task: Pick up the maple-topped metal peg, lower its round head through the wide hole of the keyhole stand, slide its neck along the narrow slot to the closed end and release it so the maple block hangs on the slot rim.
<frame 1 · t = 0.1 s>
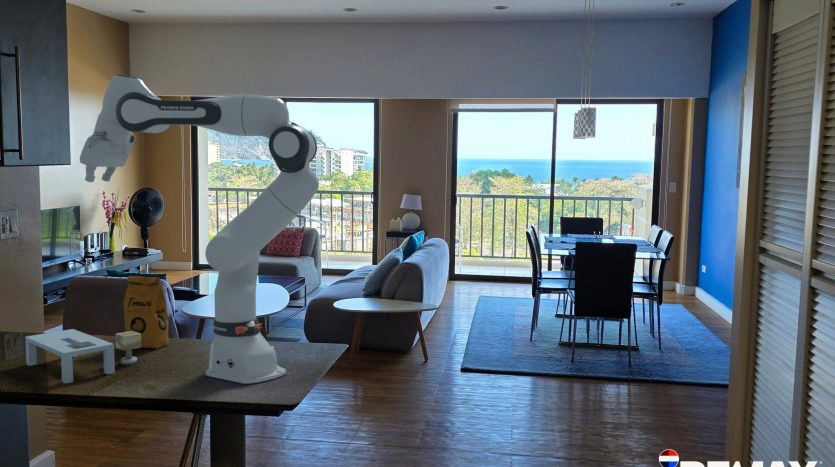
hand: (97, 181, 191), 52 cm above the breakfast bar, tool tilted 20°, fingers open, 8 cm apart
coffee package: (147, 346, 220), on the breakfast bar
peg: (129, 362, 201), on the breakfast bar
keyhole stand: (69, 368, 194), on the breakfast bar
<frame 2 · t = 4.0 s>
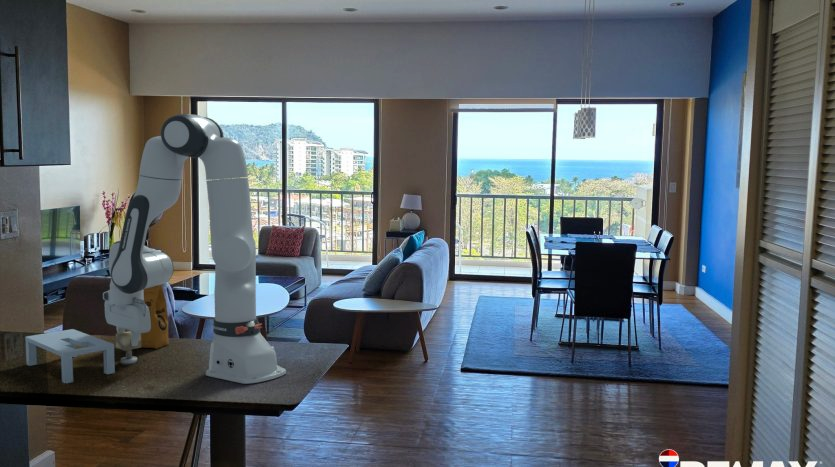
hand: (128, 343, 200), 6 cm above the breakfast bar, tool pointing down, fingers closed on peg, 5 cm apart
peg: (129, 362, 201), on the breakfast bar, touching gripper
everything else where it was.
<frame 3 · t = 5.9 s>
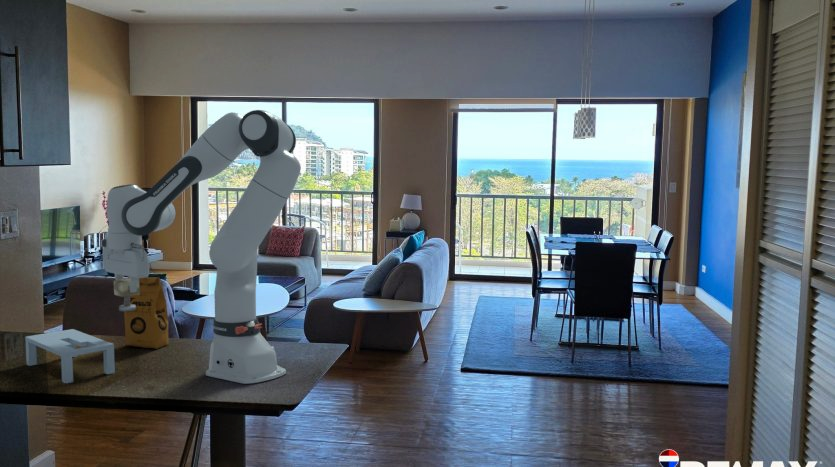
hand: (127, 290, 199), 21 cm above the breakfast bar, tool pointing down, fingers closed on peg, 5 cm apart
peg: (127, 309, 199), point 15 cm above the breakfast bar, touching gripper
everything else where it was.
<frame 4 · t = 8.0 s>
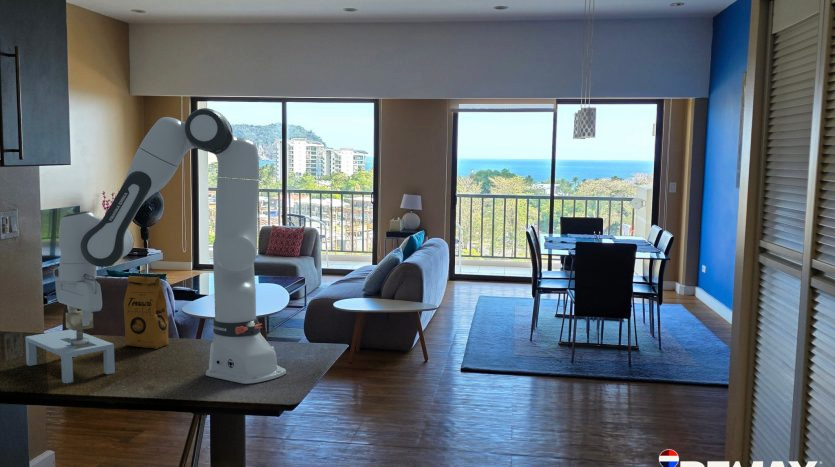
hand: (79, 323, 187), 14 cm above the breakfast bar, tool pointing down, fingers closed on peg, 5 cm apart
peg: (79, 343, 188), point 8 cm above the breakfast bar, touching gripper
everything else where it was.
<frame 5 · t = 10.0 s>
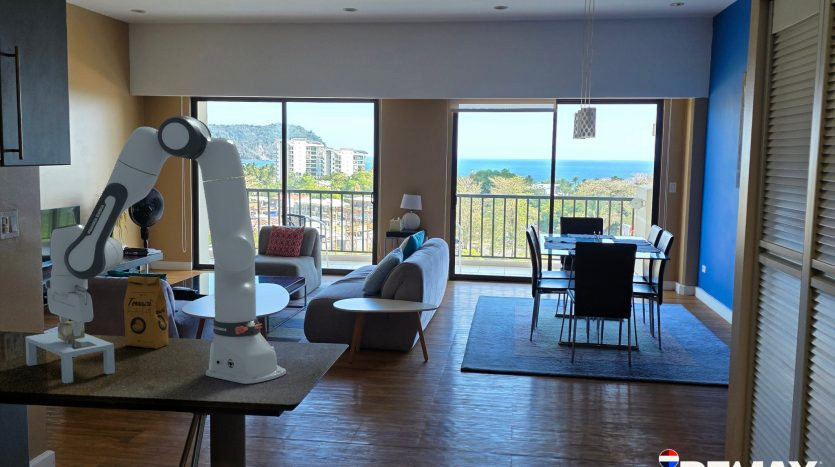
hand: (71, 333, 191), 10 cm above the breakfast bar, tool pointing down, fingers closed on peg, 5 cm apart
peg: (71, 353, 192), point 5 cm above the breakfast bar, touching gripper
everything else where it was.
when the fingers open (9 cm above the breakfast bar, at t = 11.7 s): peg stays where it is, resting on keyhole stand.
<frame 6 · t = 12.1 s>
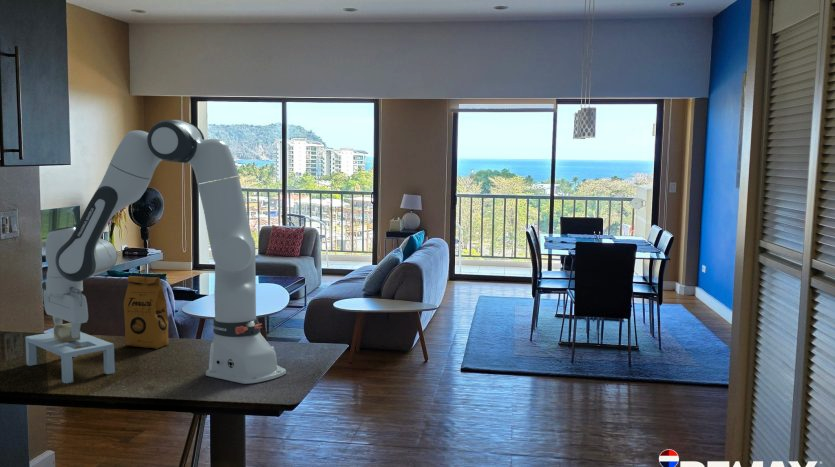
hand: (67, 334, 194), 9 cm above the breakfast bar, tool pointing down, fingers open, 8 cm apart
peg: (67, 355, 194), point 4 cm above the breakfast bar, touching keyhole stand
everything else where it was.
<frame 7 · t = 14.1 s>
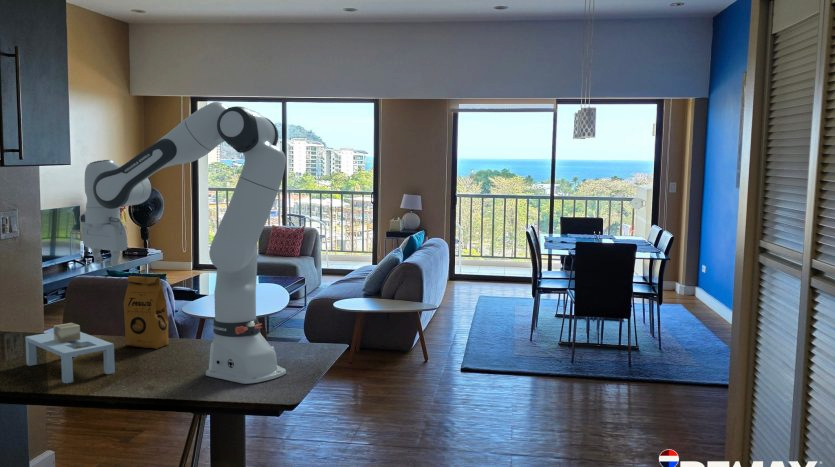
hand: (106, 264, 202), 28 cm above the breakfast bar, tool pointing down, fingers open, 8 cm apart
nothing on the breakfast bar moved.
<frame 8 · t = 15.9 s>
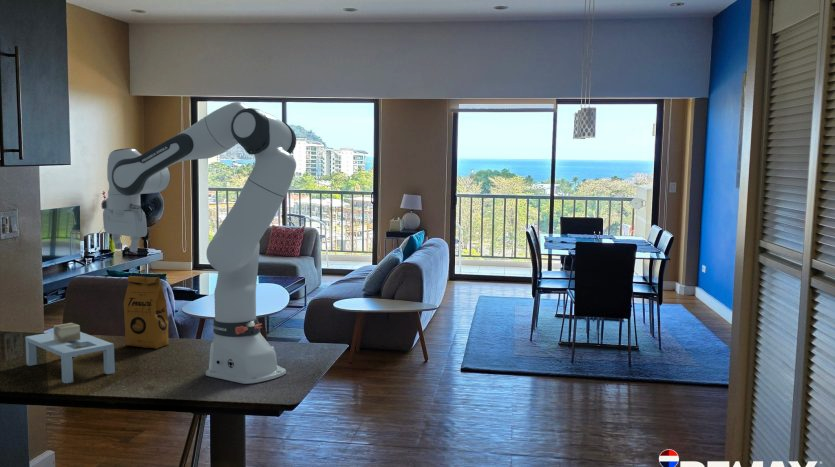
hand: (125, 250, 208), 31 cm above the breakfast bar, tool pointing down, fingers open, 8 cm apart
nothing on the breakfast bar moved.
at the end: peg 0.1 cm from the target spot on the keyhole stand, point 3.6 cm above the keyhole stand's base; the gripper is holding nothing; peg tilted 0° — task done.
